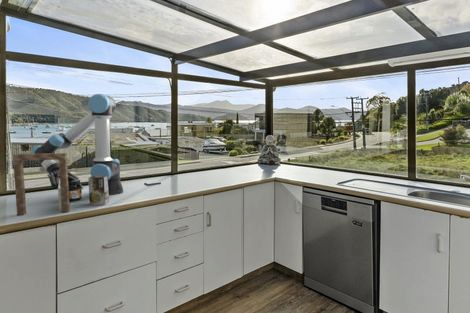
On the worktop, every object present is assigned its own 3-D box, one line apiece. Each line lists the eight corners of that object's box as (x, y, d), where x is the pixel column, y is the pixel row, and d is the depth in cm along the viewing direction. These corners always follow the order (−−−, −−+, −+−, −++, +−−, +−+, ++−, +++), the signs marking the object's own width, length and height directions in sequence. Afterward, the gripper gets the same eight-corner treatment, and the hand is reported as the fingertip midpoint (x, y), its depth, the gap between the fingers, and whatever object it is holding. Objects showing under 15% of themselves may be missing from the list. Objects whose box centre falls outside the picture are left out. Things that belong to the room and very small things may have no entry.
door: (66, 210, 161) (65, 187, 160) (59, 210, 159) (58, 188, 158) (66, 203, 174) (65, 183, 173) (60, 204, 173) (58, 183, 171)
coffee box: (109, 202, 180) (108, 175, 178) (105, 205, 173) (104, 177, 172) (94, 202, 180) (92, 175, 178) (89, 205, 173) (87, 177, 172)
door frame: (69, 210, 162) (66, 153, 158) (68, 212, 159) (64, 153, 156) (19, 213, 156) (15, 154, 153) (17, 215, 153) (12, 154, 150)
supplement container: (76, 202, 181) (75, 182, 179) (59, 201, 181) (57, 182, 180) (85, 197, 191) (84, 179, 190) (69, 197, 191) (68, 179, 190)
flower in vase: (83, 191, 211) (81, 155, 209) (80, 194, 200) (78, 157, 198) (62, 192, 207) (60, 156, 205) (58, 195, 197) (55, 157, 194)
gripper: (63, 167, 199) (84, 191, 198) (31, 173, 175) (54, 200, 174) (70, 160, 198) (91, 183, 196) (38, 164, 173) (62, 191, 172)
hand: (74, 191), depth 185 cm, fingers open, 13 cm apart
